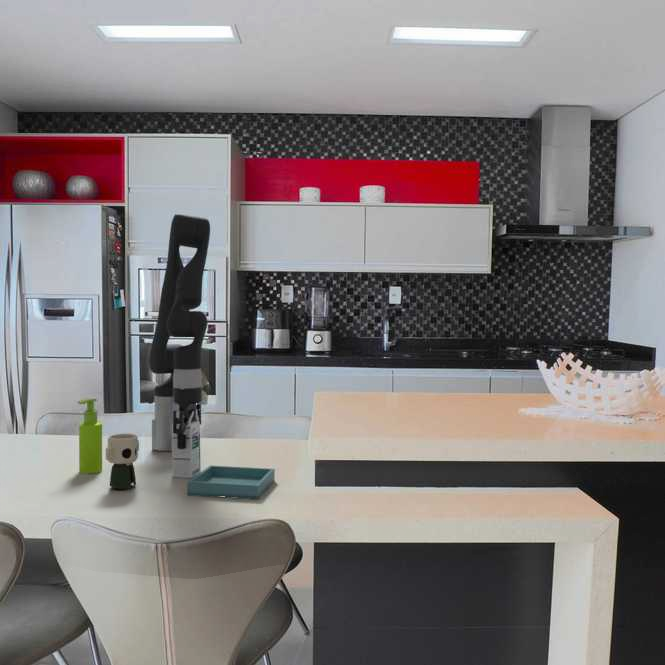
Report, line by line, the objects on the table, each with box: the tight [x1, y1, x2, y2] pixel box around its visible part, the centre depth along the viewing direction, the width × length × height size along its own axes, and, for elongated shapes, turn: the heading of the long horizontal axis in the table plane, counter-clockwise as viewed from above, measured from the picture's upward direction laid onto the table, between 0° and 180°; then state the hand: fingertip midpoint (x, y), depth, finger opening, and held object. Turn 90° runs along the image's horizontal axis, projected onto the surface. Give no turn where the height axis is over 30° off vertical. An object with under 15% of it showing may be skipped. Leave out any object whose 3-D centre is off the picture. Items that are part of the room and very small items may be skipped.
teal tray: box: [187, 464, 276, 500], centre depth 157 cm, size 18×16×3 cm
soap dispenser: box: [77, 398, 103, 475], centre depth 170 cm, size 6×7×20 cm
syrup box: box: [171, 420, 202, 479], centre depth 168 cm, size 6×6×14 cm
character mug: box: [105, 433, 140, 490], centre depth 156 cm, size 11×7×13 cm, turn 155°
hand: (187, 445), depth 168 cm, fingers open, 8 cm apart
